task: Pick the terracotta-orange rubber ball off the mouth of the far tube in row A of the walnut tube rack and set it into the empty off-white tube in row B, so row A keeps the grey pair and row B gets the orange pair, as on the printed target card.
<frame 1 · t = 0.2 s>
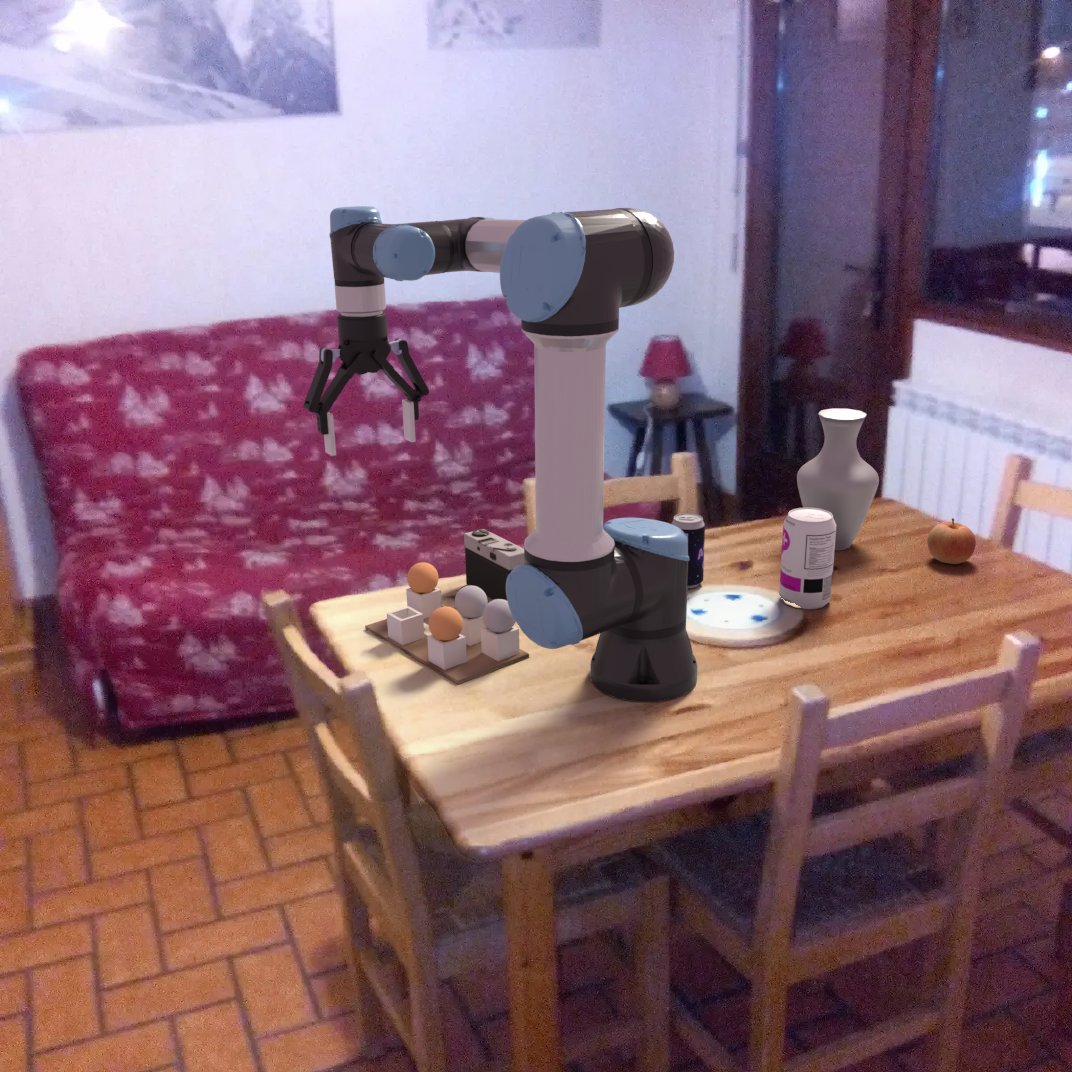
hand: (371, 447, 179), 27 cm above the table, fingers open, 13 cm apart
ball orange A: (423, 592, 181), point 4 cm above the table, touching tubes
apple: (948, 562, 200), on the table
rack board: (444, 642, 172), on the table
beverage can: (686, 585, 193), on the table
ball orange B: (446, 639, 164), point 4 cm above the table, touching tubes
tubes: (444, 642, 172), resting on rack board
camera: (506, 593, 191), on the table
supplement can: (804, 602, 185), on the table
ball grey 2: (471, 617, 171), point 4 cm above the table, touching tubes
ball grey 1: (499, 631, 166), point 4 cm above the table, touching tubes
vase: (832, 545, 209), on the table
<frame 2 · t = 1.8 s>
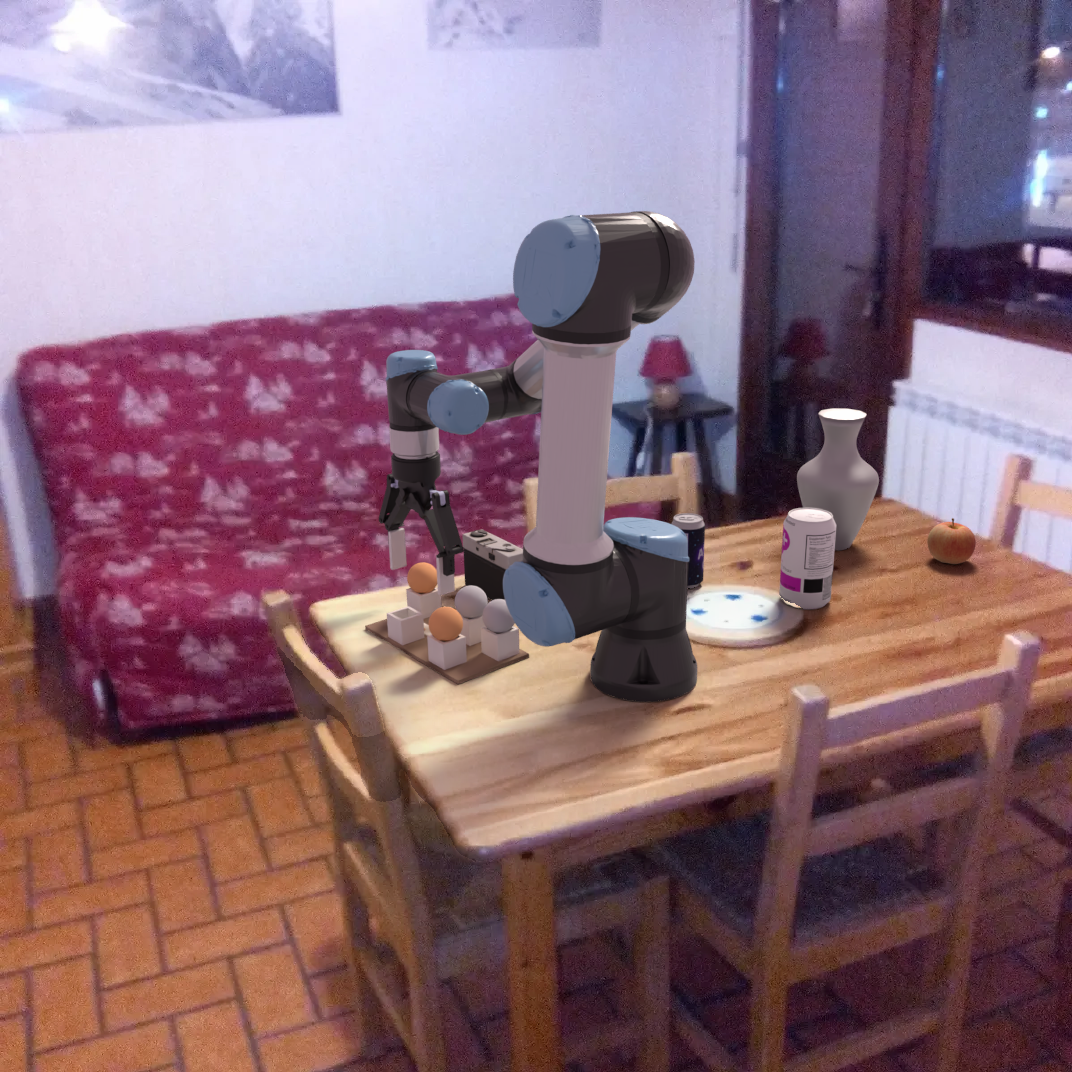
hand: (421, 579, 180), 6 cm above the table, fingers open, 13 cm apart
nothing on the table moved.
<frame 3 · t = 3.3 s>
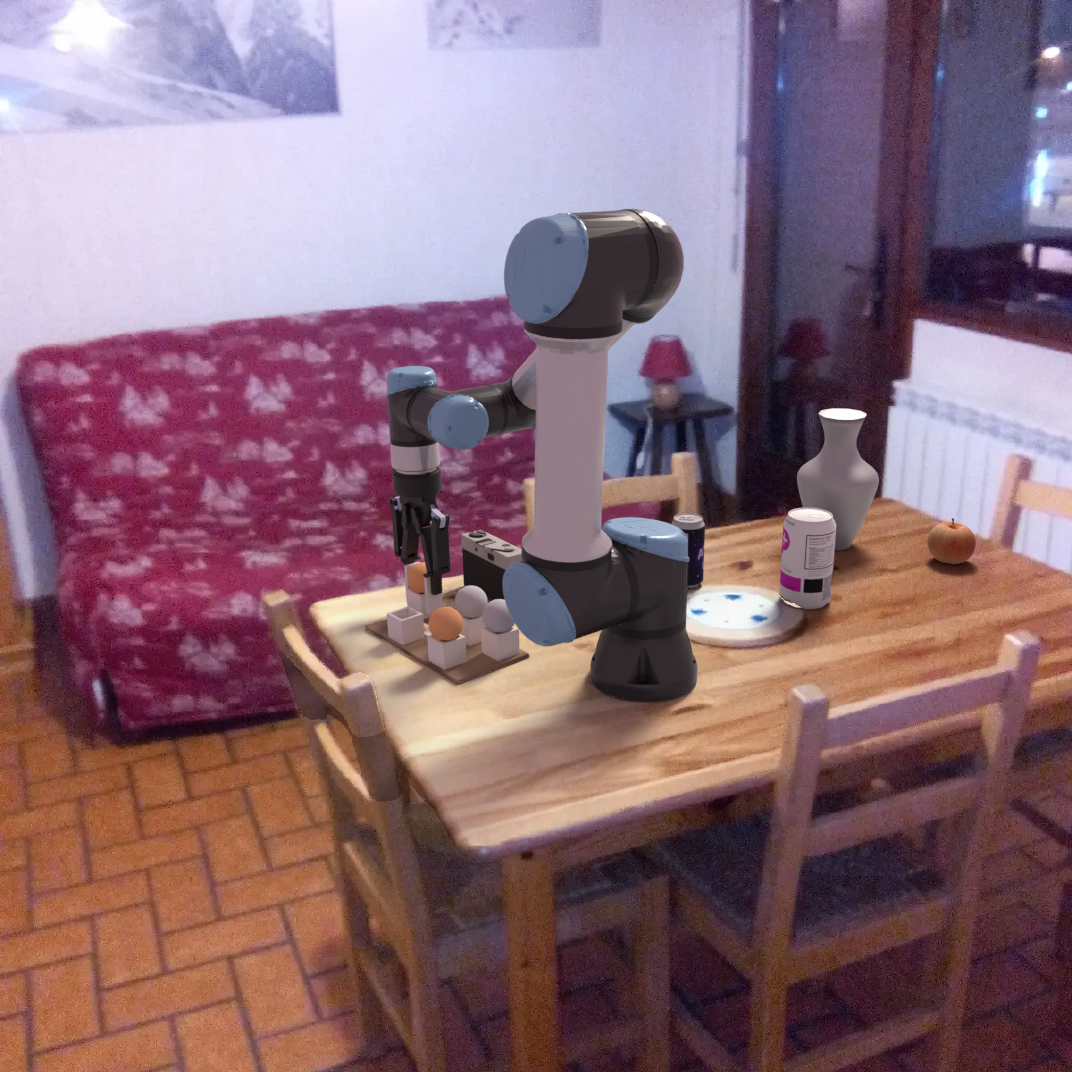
hand: (424, 605, 181), 2 cm above the table, fingers closed on ball orange A, 5 cm apart
ball orange A: (423, 592, 181), point 4 cm above the table, touching gripper, tubes
everything else where it was.
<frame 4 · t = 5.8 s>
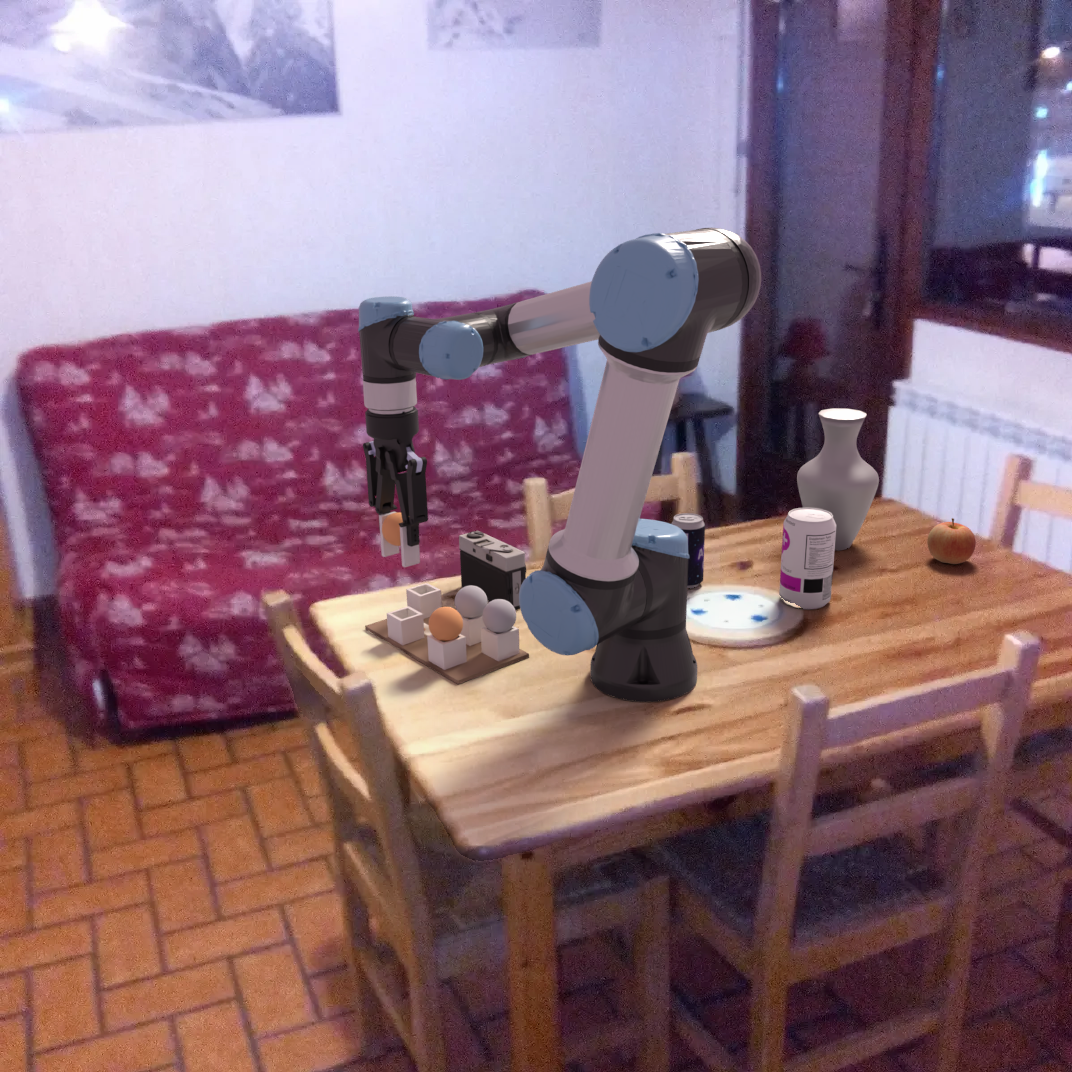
hand: (400, 559, 169), 13 cm above the table, fingers closed on ball orange A, 5 cm apart
ball orange A: (400, 545, 168), point 16 cm above the table, touching gripper
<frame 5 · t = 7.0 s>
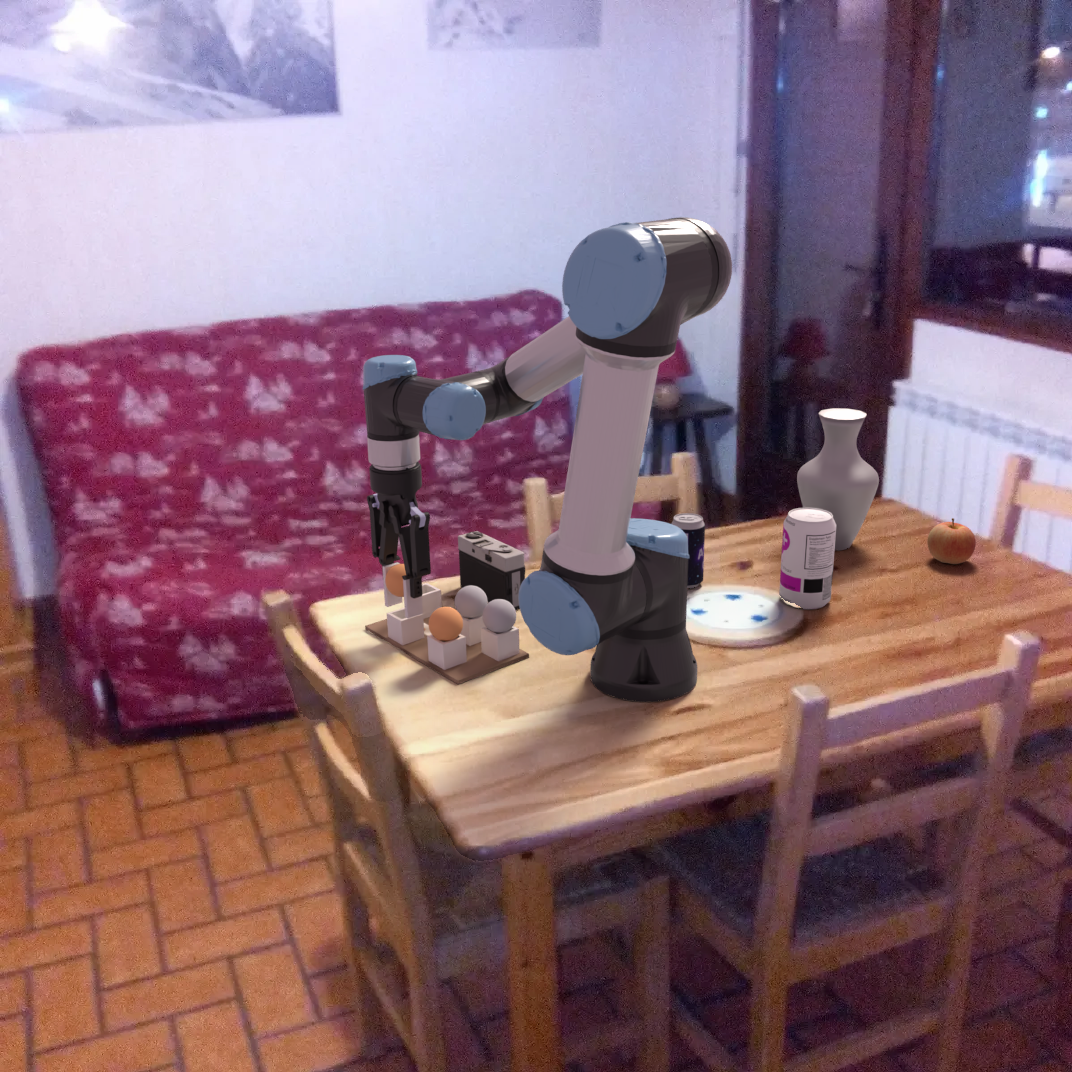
hand: (403, 609, 172), 5 cm above the table, fingers closed on ball orange A, 5 cm apart
ball orange A: (403, 595, 171), point 8 cm above the table, touching gripper
when the fingers open (3 cm above the table, at t = 8.2 s): ball orange A drops 1 cm, resting on tubes.
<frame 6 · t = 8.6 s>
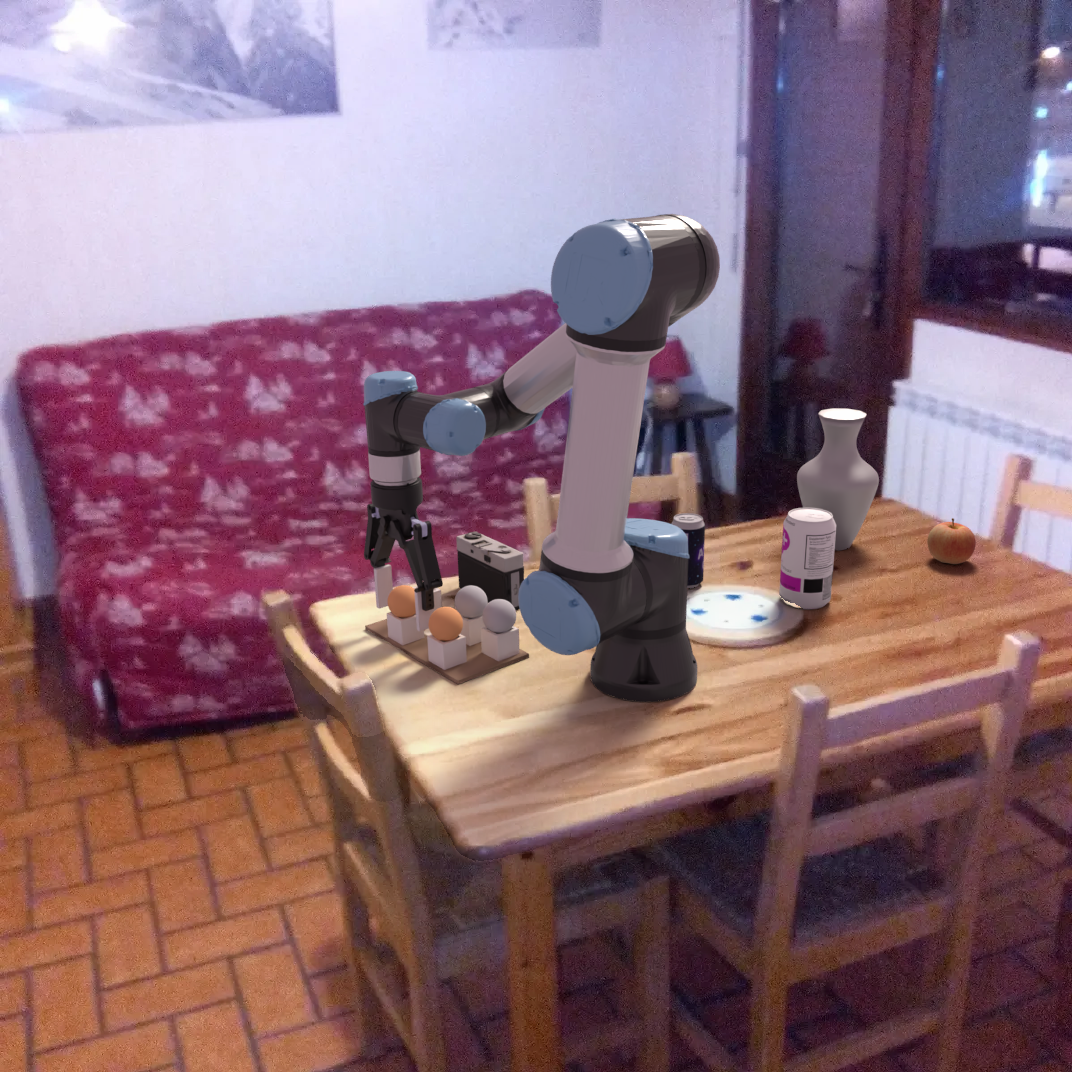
hand: (405, 616, 172), 4 cm above the table, fingers open, 10 cm apart
ball orange A: (405, 616, 172), point 4 cm above the table, touching tubes
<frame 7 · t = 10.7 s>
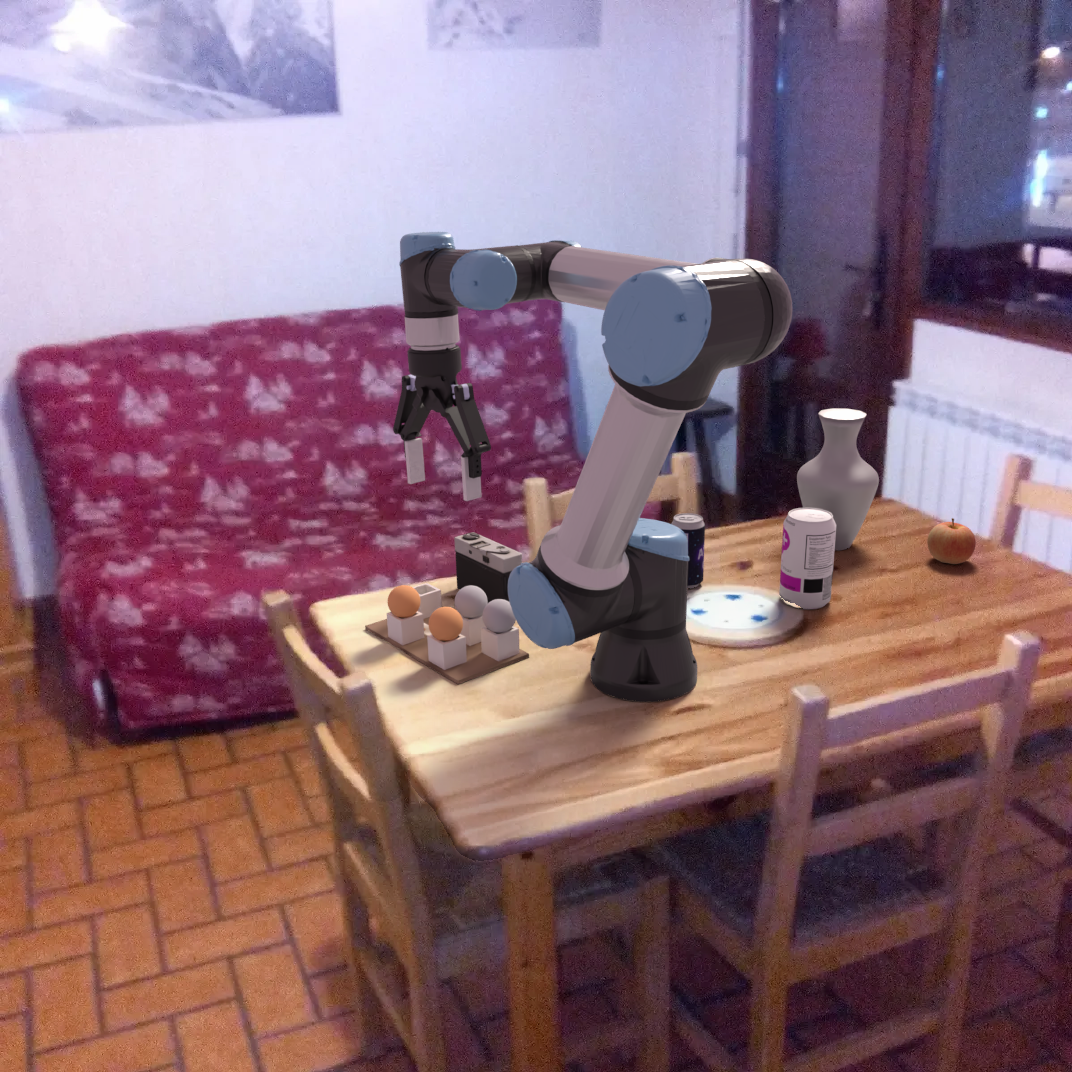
hand: (443, 490, 165), 24 cm above the table, fingers open, 13 cm apart
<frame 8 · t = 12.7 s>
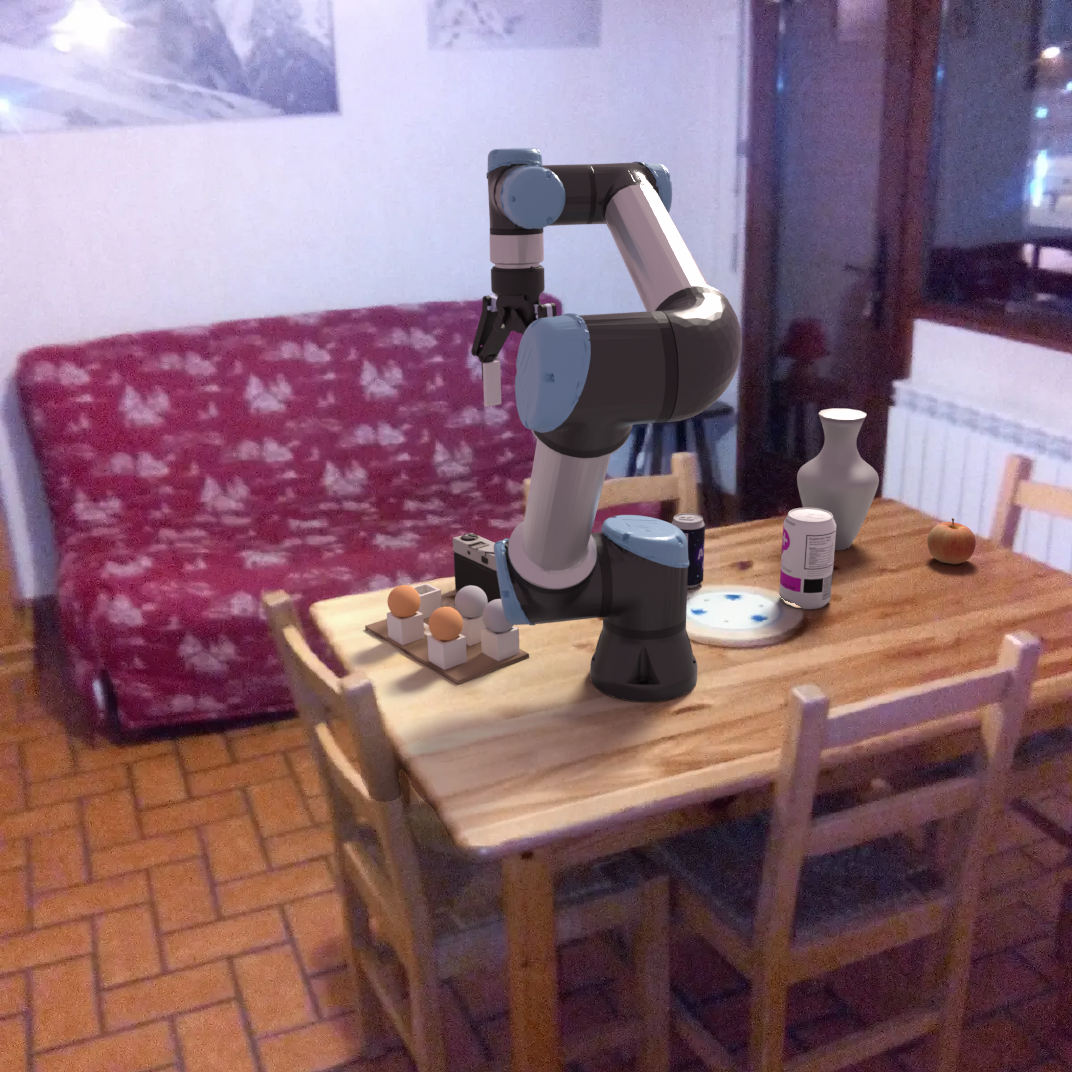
hand: (521, 413, 165), 35 cm above the table, fingers open, 13 cm apart
at the end: ball orange A 0.1 cm from the target spot on the rack board, point 4.1 cm above the rack board's base; the gripper is holding nothing; ball orange B moved 0.2 cm from its start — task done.
